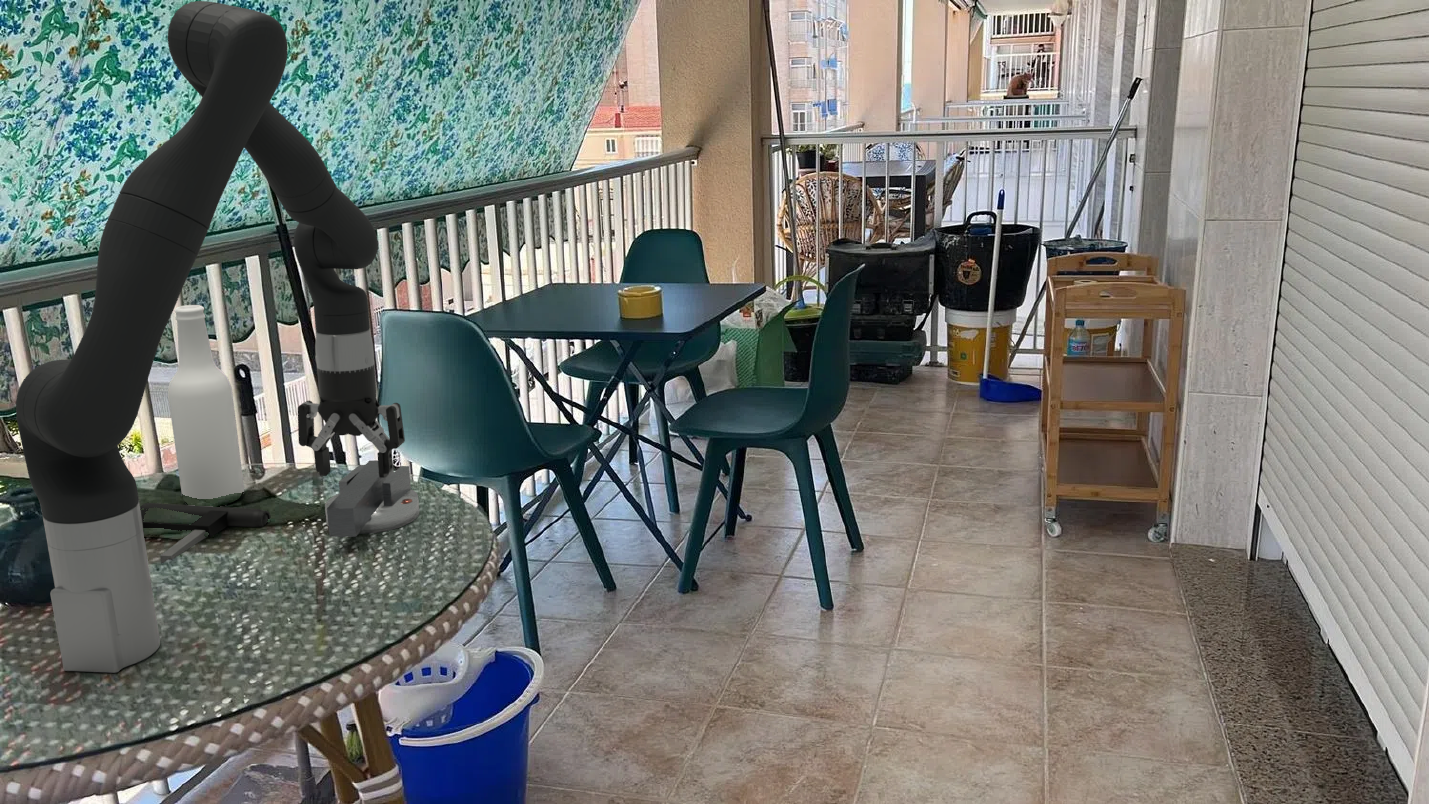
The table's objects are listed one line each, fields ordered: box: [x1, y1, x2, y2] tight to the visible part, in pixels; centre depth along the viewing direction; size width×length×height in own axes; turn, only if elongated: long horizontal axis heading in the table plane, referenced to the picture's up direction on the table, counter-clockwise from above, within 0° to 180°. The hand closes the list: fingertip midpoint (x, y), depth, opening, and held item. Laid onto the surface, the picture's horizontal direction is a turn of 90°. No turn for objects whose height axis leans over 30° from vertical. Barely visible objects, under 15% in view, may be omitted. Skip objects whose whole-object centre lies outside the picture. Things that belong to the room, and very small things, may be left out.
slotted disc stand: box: [324, 464, 420, 535], centre depth 164 cm, size 13×13×6 cm
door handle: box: [140, 502, 271, 564], centre depth 158 cm, size 3×20×16 cm
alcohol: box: [167, 304, 245, 499], centre depth 170 cm, size 9×9×30 cm
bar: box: [327, 459, 395, 538], centre depth 160 cm, size 20×4×4 cm, turn 1°
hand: (354, 475), depth 159 cm, fingers open, 8 cm apart
